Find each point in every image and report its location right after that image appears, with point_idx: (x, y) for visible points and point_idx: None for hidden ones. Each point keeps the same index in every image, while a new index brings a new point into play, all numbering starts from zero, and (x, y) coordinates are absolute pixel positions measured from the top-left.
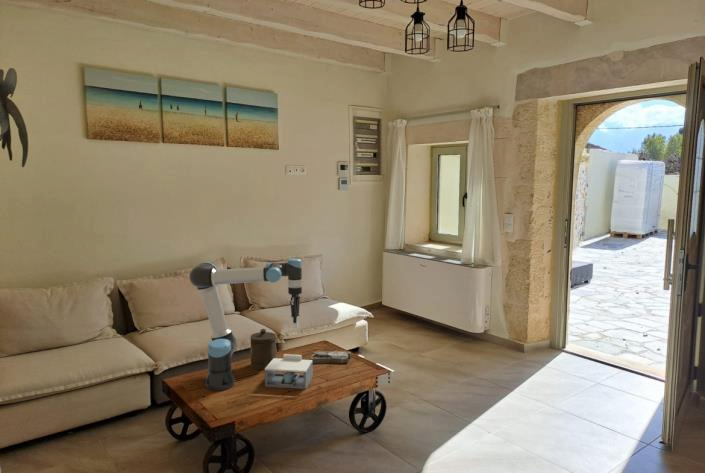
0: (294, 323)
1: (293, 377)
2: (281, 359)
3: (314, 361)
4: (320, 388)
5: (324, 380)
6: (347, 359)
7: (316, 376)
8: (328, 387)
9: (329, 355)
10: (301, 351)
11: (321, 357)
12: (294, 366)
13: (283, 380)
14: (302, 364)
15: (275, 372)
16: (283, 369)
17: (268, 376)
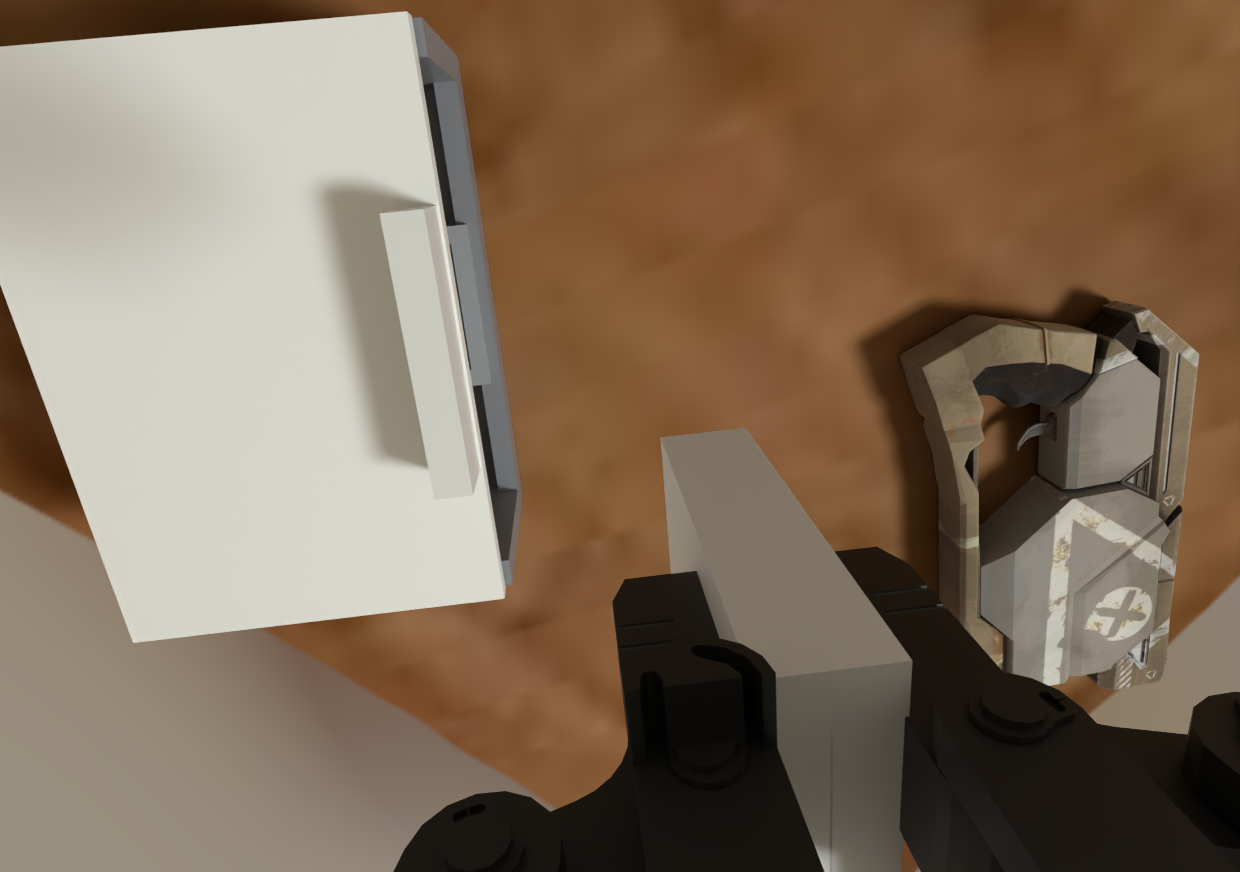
0: (690, 567)
1: None
2: (391, 175)
3: (920, 393)
4: (331, 625)
5: (510, 604)
6: None
7: (581, 511)
8: (376, 677)
9: (1035, 530)
10: None
11: (1032, 433)
12: (207, 464)
13: None
14: (316, 535)
15: (422, 81)
16: (36, 360)
17: None
